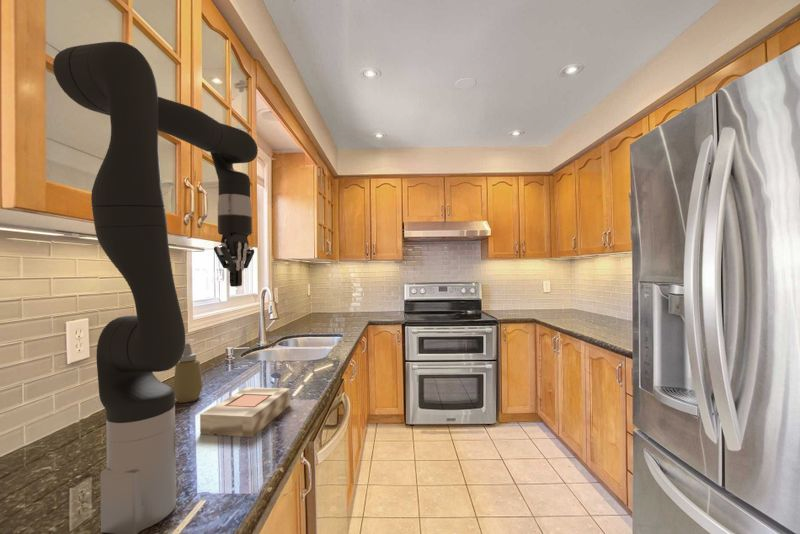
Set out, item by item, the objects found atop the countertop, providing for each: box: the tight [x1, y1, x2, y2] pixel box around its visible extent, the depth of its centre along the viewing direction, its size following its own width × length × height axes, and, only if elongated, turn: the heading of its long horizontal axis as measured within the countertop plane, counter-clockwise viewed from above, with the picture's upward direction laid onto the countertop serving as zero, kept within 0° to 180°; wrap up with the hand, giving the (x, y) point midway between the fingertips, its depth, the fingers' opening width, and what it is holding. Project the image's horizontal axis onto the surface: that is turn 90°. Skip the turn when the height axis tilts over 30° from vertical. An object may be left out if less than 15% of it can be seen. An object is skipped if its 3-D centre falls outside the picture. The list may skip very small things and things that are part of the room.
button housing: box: [199, 386, 291, 438], centre depth 95 cm, size 20×14×5 cm
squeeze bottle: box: [172, 342, 204, 404], centre depth 110 cm, size 8×8×18 cm
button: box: [228, 395, 269, 407], centre depth 95 cm, size 8×8×4 cm
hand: (236, 286), depth 84 cm, fingers closed
